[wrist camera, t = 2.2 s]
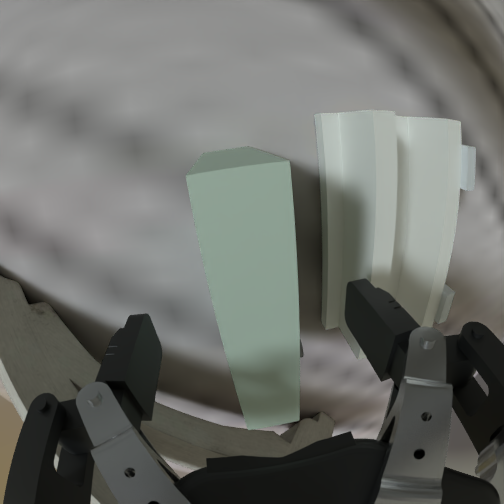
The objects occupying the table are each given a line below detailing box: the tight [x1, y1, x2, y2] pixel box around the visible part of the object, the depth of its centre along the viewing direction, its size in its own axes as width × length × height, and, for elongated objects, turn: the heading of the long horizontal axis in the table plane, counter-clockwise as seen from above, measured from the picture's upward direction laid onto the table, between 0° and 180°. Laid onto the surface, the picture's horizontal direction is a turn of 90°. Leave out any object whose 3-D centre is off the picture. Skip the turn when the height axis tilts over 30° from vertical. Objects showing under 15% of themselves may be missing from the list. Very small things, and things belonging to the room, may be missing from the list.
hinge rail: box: [314, 110, 476, 360], centre depth 14 cm, size 14×8×5 cm, turn 7°
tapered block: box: [186, 146, 303, 430], centre depth 12 cm, size 11×3×8 cm, turn 7°
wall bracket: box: [0, 275, 335, 504], centre depth 19 cm, size 22×4×30 cm
